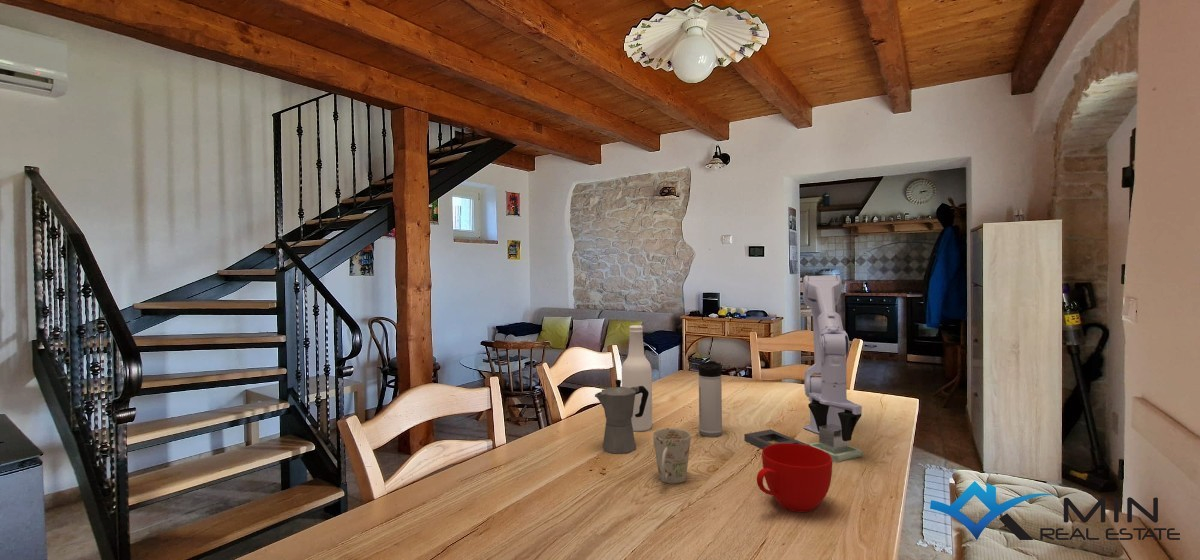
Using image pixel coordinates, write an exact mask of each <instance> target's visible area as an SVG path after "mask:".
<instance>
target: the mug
mask: <svg viewBox="0 0 1200 560" xmlns="http://www.w3.org/2000/svg"><path fill="white" fill-rule="evenodd" d="M652 435H653V436H652V437H653V444H654V445H653V446H654V452H655V459H656V465H657V466H656V467H657V473H658V474H657V475H658V479H659V480H660V481H661V482H663V483H667V484H680V483H683V482H685V481H686V479H687V476H688V475H687V473H688V465H689V464H688V463H689V456H690V449H691V448H690V446H691V439H692V435H691V433H690V432H689V431H687V430H685V429H682V428H674V427H673V428H672V427H671V428H670V427H668V428H667V427H665V428H660V429H657V430H655V431H654V432H653V433H652Z"/></svg>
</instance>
